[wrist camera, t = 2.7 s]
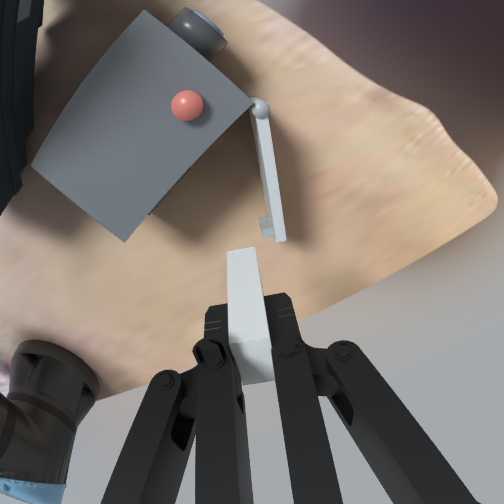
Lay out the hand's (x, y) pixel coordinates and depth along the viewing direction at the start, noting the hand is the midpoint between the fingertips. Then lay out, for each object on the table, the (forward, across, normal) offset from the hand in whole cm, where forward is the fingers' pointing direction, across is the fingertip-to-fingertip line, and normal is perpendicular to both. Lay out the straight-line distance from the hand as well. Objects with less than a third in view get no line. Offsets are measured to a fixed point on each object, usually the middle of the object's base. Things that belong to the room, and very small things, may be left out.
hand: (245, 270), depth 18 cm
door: (+14, +2, +2) cm, 14 cm away
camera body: (+14, -5, +9) cm, 17 cm away
